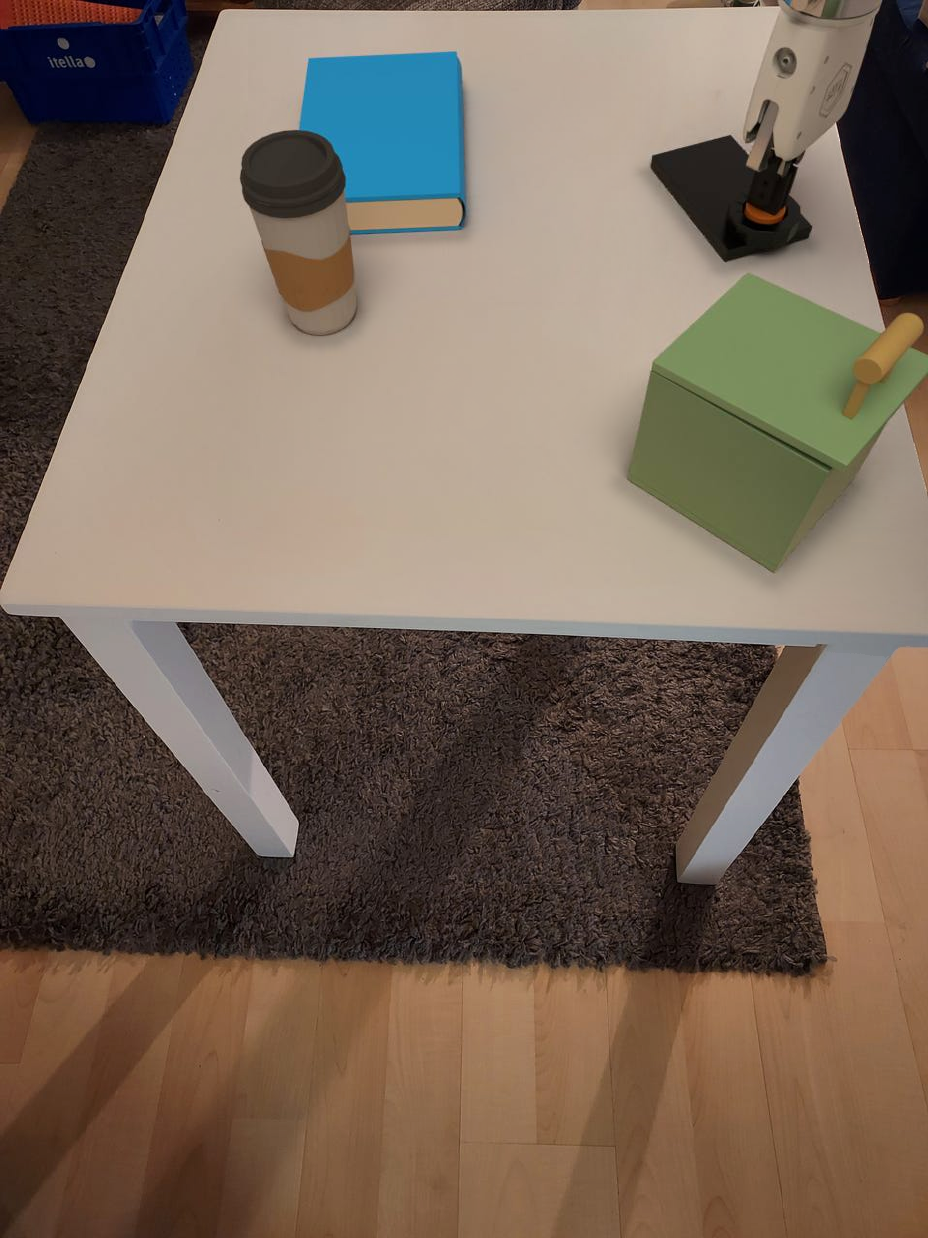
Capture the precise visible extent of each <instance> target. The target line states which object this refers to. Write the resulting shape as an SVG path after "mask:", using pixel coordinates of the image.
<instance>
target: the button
mask: <svg viewBox="0 0 928 1238" xmlns="http://www.w3.org/2000/svg"><path fill="white" fill-rule="evenodd" d="M785 210H786V207H784V208H782V209H781V210H780V211H779V212H778V213H777V214H776V215H771V214H769V213H767V212H765V211H762V210H760V209H758V208H756V207H754V206H752V205H750V204H748V202H747V204H746V207H745V211H744V214H745V215H746V217H747V218H748V219H750V220H752V221H755V222H757V223H759V224H774V223H777V222H781V221H782V220H783V217H784V214H785Z"/></svg>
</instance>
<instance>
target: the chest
mask: <svg viewBox="0 0 928 1238" xmlns="http://www.w3.org/2000/svg"><path fill="white" fill-rule="evenodd" d="M887 423H888V422H887ZM887 423H886V424H885V425H884V427H883V428H882V429H881V430H880V431H879V432H878V434H877V435H876V436H875V437H874V438H873V439H872V441H871V442H870V443H869V444H868V445H867V446H866V448H865V449H864V450H863V451H862V452H861V453H860V455H859V456H858V457H857V458H856V459H855V460H854V462H853V463H852V464H851V465H850V466H849V467H848V469H847V470H846V471H845V472H844V473H842V472H840V471H838V470H836V469H834V468H833V467H831V466H829V465H827V464H825V463H823V462H821V461H820V460H818V459H816V458H814V457H812V456H810V455H808V454H807V453H805V452H803V451H801V450H799V449H797V448H795V447H794V446H792V445H790V444H788V443H786V442H784V441H782V440H781V439H779V438H777V437H775V436H773V435H771V434H770V433H768V432H766V431H764V430H762V429H760V428H758V427H757V426H755V425H753V424H751V423H749V422H747V421H745V420H744V419H742V418H740V417H738V416H736V415H734V414H732V413H731V412H729V411H727V410H725V409H723V408H721V407H719V406H718V405H716V404H714V403H712V402H710V401H708V400H706V399H705V398H703V397H701V396H699V395H697V394H695V393H693V392H692V391H690V390H688V389H686V388H684V387H682V386H681V385H679V384H677V383H675V382H673V381H671V380H669V379H668V378H666V377H664V376H662V375H660V374H658V373H656V372H655V371H653V370H652V369H651V370H650V372H649V377H648V382H647V387H646V391H645V396H644V401H643V405H642V410H641V414H640V420H639V423H638V424H639V425H638V428H637V434H636V438H635V444H634V447H633V452H632V456H631V461H630V467H629V471H628V474H627V475H628V476H627V480H628V481H629V482H631V483H632V484H634V485H635V486H637V487H639V488H640V489H642V490H643V491H645V492H647V493H648V494H650V495H651V496H653V497H654V498H656V499H657V500H659V501H661V502H662V503H664V504H665V505H666V506H668V507H670V508H672V509H673V510H675V511H676V512H678V513H679V514H681V515H683V516H684V517H686V518H687V519H689V520H691V521H692V522H693V523H695V524H696V525H698V526H700V527H701V528H703V529H704V530H706V531H708V532H710V533H711V534H713V535H714V536H715V537H717V538H719V539H721V540H722V541H723V542H725V543H727V544H729V545H730V546H731V547H733V548H734V549H736V550H738V551H739V552H741V553H743V554H744V555H745V556H747V557H749V558H750V559H752V560H754V561H755V562H756V563H758V564H760V565H762V566H763V567H764V568H766V569H767V570H769V571H771V572H772V573H776V572H777V571H778V569H779V568H780V567H781V566H782V565H783V564H784V563H785V561H786V560H787V559H788V558H789V556H791V554H792V553H793V552H794V551H795V549H796V548H797V547H798V546H799V544H800V543H801V542H802V541H803V540H804V539H805V538H806V536H807V535H808V534H809V533H810V532H811V531H812V529H813V528H814V527H815V526H816V525H817V524H818V522H819V521H820V520H821V519H822V518H823V516H825V514H826V513H827V512H828V511H829V509H830V508H831V507H832V506H833V504H835V503H836V501H837V500H838V499H839V498H840V496H841V495H842V494H843V493H844V492H845V490H846V489H847V488H848V487H849V486H850V485H851V484H852V482H853V481H854V480H855V478H856V477H857V474H858V473H859V471H860V469H861V468H862V466H863V464H864V463H865V461H866V459H867V458H868V456H869V454H870V453H871V451H872V449H873V448H874V446H875V444H876V443H877V441H878V439H879V437H880V435H881V433H882V432H883V430H884V428H885V427H886V426H887Z"/></svg>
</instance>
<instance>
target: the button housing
mask: <svg viewBox="0 0 928 1238" xmlns="http://www.w3.org/2000/svg"><path fill="white" fill-rule="evenodd" d="M749 155H750V154H748V152H747V151H746V149H744V147H742V146H741V145H740V143H739V142H738V141H737V140H736V139H735V137H733V135H732V134H727V135H724V136H721V137H720V136H719V137H716V138H713V139H709V140H706V141H705V140H704V141H702V142H698V143H693V144H690V145H687V146H683V147H679V148H675V149H672V150H667V151H664V152H660V153H656V154H652V155H651V161H650V166H649V167H650V169H651V171H652V172H653V173H654V174H655V175H656V176H657V178H658V179H659V180H660V182H661V183H662V184H663V185H664V187H665V188H666V189H667V190H668V192H669V193H670V194H671V196H672V197H673V198H674V200H675V201H676V202H677V203H678V204H679V206H680V207H681V208H682V210H683V211H684V212H685V214H686V215H687V216H688V217H689V218H690V220H691V221H692V223H693V224H694V225H695V226H696V228H697V229H698V230H699V231H700V232H701V234H702V235H703V236H704V238H705V239H706V241H708V243H709V244H710V246H712V248H713V249H714V250H715V252H716V253H717V254H718V256H719V257H720V258H721V259H722V260H723V262H724V263H727V262H730V261H734V260H736V259H741V258H744V257H749V256H751V255H755V254H759V253H762V252H766V251H769V250H772V249H775V248H779V247H783V246H787V245H790V244H794V243H797V242H800V241H804V240H808V239H809V238H810V235H811V233H812V230H813V228H814V227H813V225H812V224H811V223H810V222H809V221H808V219H807V218H806V217H805V216H804V215H803V214H802V209H801V208H802V207H801V204H799V203H798V202H797V201H796V200H795V199H794V197H793V196H792V195H790V194H789V197H788V200H787V203H786V206H785V207H786V210H785V214H784V217H783V220H782V221H781V222H777V223H774V224H759V223H757V222H755V221H752V220H750V219H748V218H747V217H746V215H745V214H744V211H745V207H746V204H747V198H748V194H749V191H750V187H751V183H752V180H753V176H754V173H755V171H754V170H752V169H750V168H748V167H746V163H747V160H748V157H749Z"/></svg>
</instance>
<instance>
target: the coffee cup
mask: <svg viewBox="0 0 928 1238" xmlns="http://www.w3.org/2000/svg"><path fill="white" fill-rule="evenodd" d="M240 166H241V169H240V175H239V181H240V184H241V193H242V197H243V200H244V202H245V203H246V204H247V206H248V207H249V210H250V212H251V216H252V218H253V220H254V224H255V226H256V230H257V232H258V235H259V237H260V243H261V245H262V249H263V251H264V254H265V257H266V259H267V263H268V264H269V269H270V270H271V274H272V277H273V279H274V283H275V285H276V288H277V291H278V293H279V294H280V296H281V299H282V301H283V305H284V307H285V311H286V313H287V315H288V318H289V320H290V321H291V322H292V324H293V325H295V326H296V328H297V329H299V330H301V331H302V332H304V333H305V334H309V335H314V336H326V335H330V334H334V333H338V332H339V331H341V330H343V329H345V328H346V327H347V326H349V323H351V321H352V320H353V318H354V315H355V313H356V311H357V295H356V293H357V292H356V284H355V268H354V257H353V247H352V238H351V237H352V236H351V234H350V228H349V225H348V217H347V207H346V198H345V186H346V176H345V174H344V172H343V166H342V163H341V160H340V158H339V156H338V155H337V154H336V153H335V152H334V149H333V146H332V144H331V143H330V142H329V141H328V140H327V139H326V138H324V137H323V136H321V135H319V134H317V133H313V132H310V131H303V130H299V129H287V130H281V131H277V132H276V131H275V132H272V133H269V134H267V135H265V136H262V137H260V138H259V139H257V140H255V141H254V142H252V143H251V144H250V145H249V146H248V147H247V148H246V149H245V151H244V153H243V155H242V157H241V163H240Z"/></svg>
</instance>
